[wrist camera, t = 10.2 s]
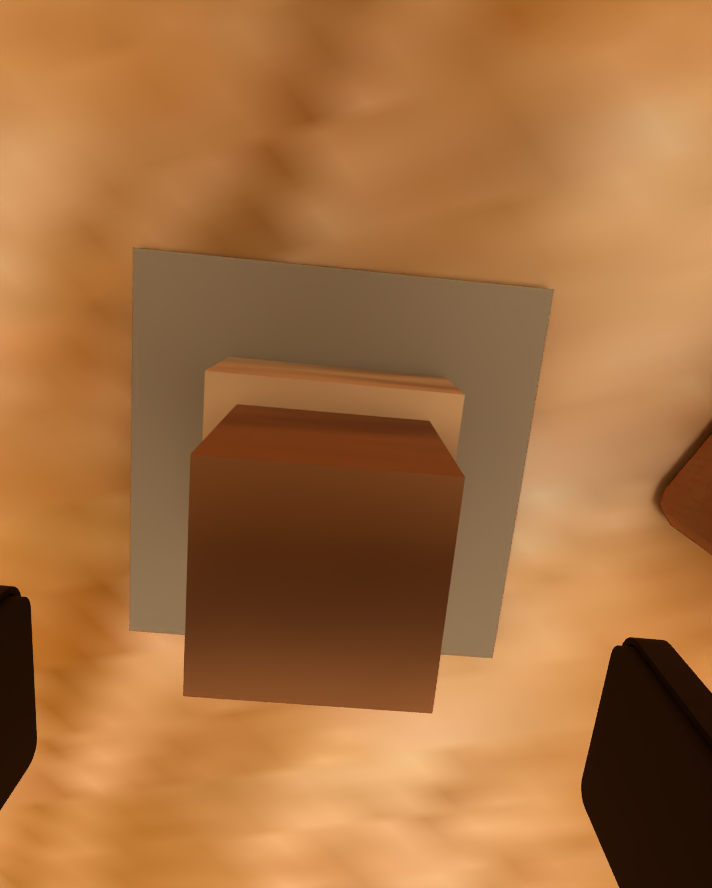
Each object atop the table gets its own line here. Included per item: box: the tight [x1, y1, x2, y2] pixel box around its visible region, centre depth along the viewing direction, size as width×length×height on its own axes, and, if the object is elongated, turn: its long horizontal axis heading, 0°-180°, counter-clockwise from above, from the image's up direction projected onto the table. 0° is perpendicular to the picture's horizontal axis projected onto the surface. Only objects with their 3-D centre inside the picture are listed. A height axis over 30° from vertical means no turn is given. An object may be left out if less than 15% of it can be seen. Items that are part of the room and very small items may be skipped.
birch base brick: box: [202, 357, 465, 462], centre depth 22 cm, size 8×8×4 cm
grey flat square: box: [129, 248, 554, 658], centre depth 24 cm, size 15×15×1 cm
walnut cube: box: [183, 404, 465, 713], centre depth 17 cm, size 6×6×6 cm
